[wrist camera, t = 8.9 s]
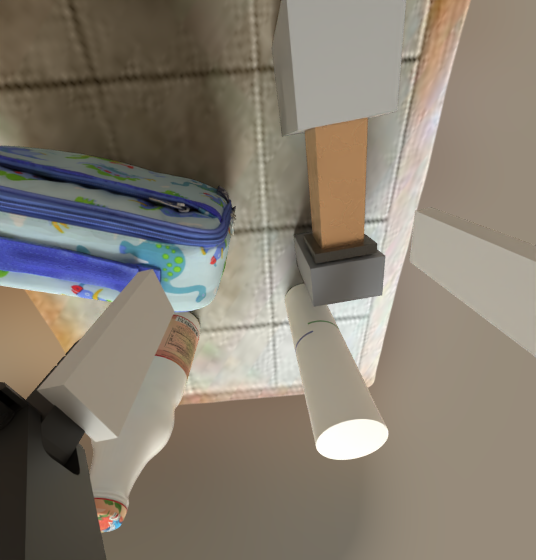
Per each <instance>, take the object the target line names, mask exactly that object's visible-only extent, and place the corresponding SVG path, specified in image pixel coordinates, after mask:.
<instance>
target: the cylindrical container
mask: <svg viewBox="0 0 536 560" xmlns="http://www.w3.org/2000/svg"><path fill="white" fill-rule="evenodd" d="M285 306H286V311H287V315H288V320H289V325H290V329H291V334H292V338H293V343H294V347H295V352H296V357H297V361H298V366H299V370H300V375H301V380H302V384H303V389H304V393H305V397H306V402H307V407H308V411H309V416H310V420H311V425H312V429H313V434H314V439H315V444H316V448H317V450H318V452H319V453H320V454H321V455H323V456H325V457H328V458H331V459H340V460H345V459H354V458H358V457H362V456H365V455H368V454H370V453H372V452H374V451H375V450H377V449H378V448H380V447H381V446H382V445H383V444H384V443H385V442H386V440H387V438H388V429H387V427H386V425H385V423H384V421H383V419H382V417H381V415H380V413H379V411H378V409H377V407H376V404H375V402H374V400H373V398H372V396H371V394H370V392H369V390H368V388H367V386H366V384H365V382H364V380H363V378H362V376H361V374H360V372H359V369H358V367H357V365H356V363H355V361H354V359H353V357H352V355H351V353H350V351H349V349H348V347H347V345H346V343H345V341H344V339H343V337H342V335H341V332H340V331H339V328H338V326H337V324H336V322H335V320H334V318H333V316H332V314H331V312H330V310H329V308H328V306H327V305H322V306H316V307H314V306H313V304H312V301H311V299H310V296H309V294H308V291H307V289H306V286H305V284H299V285H296V286H294V287H293V288H291V289H290V290H289V291H288V293H287V294H286V297H285Z"/></svg>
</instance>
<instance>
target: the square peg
mask: <svg viewBox="0 0 536 560" xmlns="http://www.w3.org/2000/svg"><path fill="white" fill-rule="evenodd" d="M367 127H368V117H367V118H362V119H356V120H351V121H346V122H341V123H335V124H330V125H325V126H320V127H314V128H310V129H307V130H305V141H306V154H307V167H308V180H309V193H310V206H311V219H312V232H313V233H311V234H305V235H303V236H304V243H305V245H306V247H307V249H308V250H309V252H310V254H311V256H312V257H313V259H314V261H315V263H316V264H317V263H322V262H328V261H334V260H339V259H345V258H351V257H356V256H362V255H368V254H373V253H377V243H376V242H375V241H373V240H372V239H371V238H369V237H368V236H367V235H365V234H364V219H365V188H366V157H367Z"/></svg>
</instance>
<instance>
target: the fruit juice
mask: <svg viewBox="0 0 536 560" xmlns="http://www.w3.org/2000/svg"><path fill="white" fill-rule="evenodd" d="M199 336H200V324H199V322H198V320H197V319H196V317H195V316H194V315H193V314H191V313H190V312H174V314H173V316H172V318H171V320H170V323H169V325H168V327H167V329H166V332H165V334H164V336H163V338H162V340H161V343H160V345H159V347H158V349H157V352H156V354H155V356H154V358H153V361H152V363H151V365H150V367H149V370H148V372H147V374H146V376H145V378H144V381H143V383H142V385H141V387H140V390H139V392H138V394H137V396H136V399H135V401H134V403H133V405H132V407H131V410H130V412H129V414H128V416H127V419H126V421H125V423H124V425H123V428H122V430H121V432H120V434H119V436H118V438H114V439H109V440H103V441H98V442H95V441H94V440H93V439H92V438H91V442H92V446H93V451H94V453H93V461H92V465H91V470H90V474H89V475H90V480H91V485H92V490H93V495H94V500H95V505H96V510H97V515H98V520H99V525H100V530H101V532H107V531H112V530H115V529H117V528H118V527H119V526H120V525H121V524H122V522H123V520H124V518H125V515H126V513H127V508H128V505H129V500H128V496H129V493H130V491H131V489H132V486H133V484H134V482H135V480H136V479H137V477H138V476H139V474H140V472H141V471H142V469H143V468H144V466H145V465H146V464H147V462H148V461H149V460H150V459H151V458H152V457H154V456H155V455H156V454H157V453H158V452H159V451H160V450H161V449H162V448H163V447H164V446H165V444H166V443H167V441H168V440H169V437H170V435H171V432H172V429H173V425H174V410H175V408H176V407H177V405H178V404H179V402H180V400H181V398H182V396H183V393H184V390H185V387H186V383H187V379H188V376H189V372H190V369H191V365H192V361H193V358H194V354H195V351H196V347H197V343H198V340H199Z"/></svg>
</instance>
